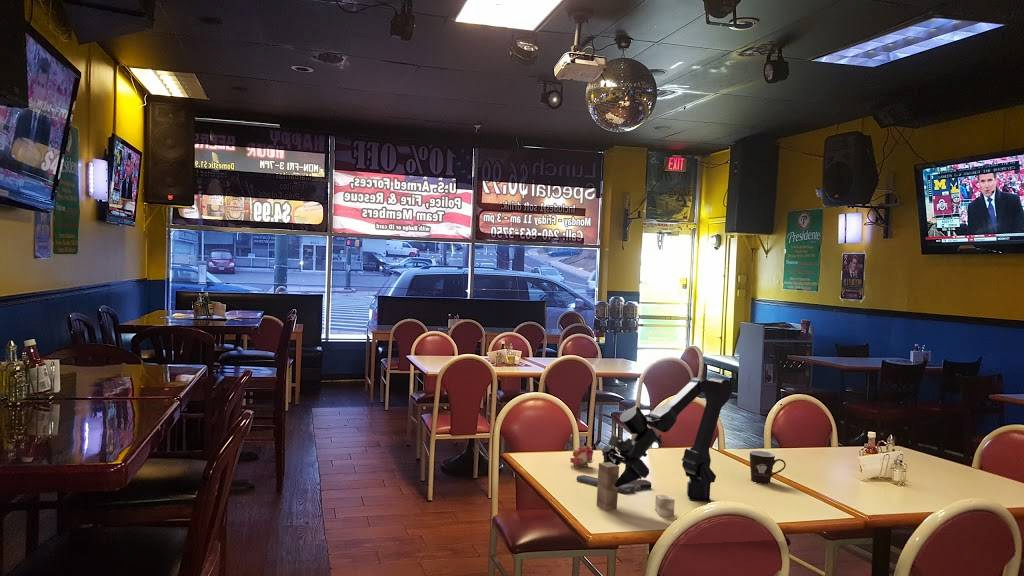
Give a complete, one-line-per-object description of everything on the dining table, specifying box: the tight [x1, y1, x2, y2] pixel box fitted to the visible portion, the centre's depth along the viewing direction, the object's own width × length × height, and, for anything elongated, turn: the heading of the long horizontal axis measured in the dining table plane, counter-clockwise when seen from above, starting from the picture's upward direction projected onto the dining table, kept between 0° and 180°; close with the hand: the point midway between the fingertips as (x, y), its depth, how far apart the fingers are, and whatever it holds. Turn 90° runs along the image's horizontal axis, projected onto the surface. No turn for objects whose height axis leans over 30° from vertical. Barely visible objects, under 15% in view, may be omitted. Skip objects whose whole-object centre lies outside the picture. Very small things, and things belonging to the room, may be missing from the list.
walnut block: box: [596, 462, 620, 512], centre depth 220 cm, size 4×5×13 cm
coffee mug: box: [749, 450, 787, 485], centre depth 259 cm, size 12×9×10 cm
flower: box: [570, 445, 594, 469], centre depth 267 cm, size 10×9×8 cm
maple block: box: [654, 494, 676, 517], centre depth 217 cm, size 4×4×5 cm
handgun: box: [575, 474, 652, 494], centre depth 246 cm, size 3×22×14 cm
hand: (606, 482), depth 220 cm, fingers open, 9 cm apart
